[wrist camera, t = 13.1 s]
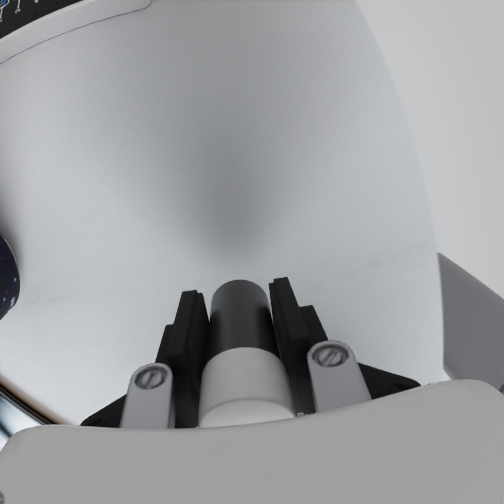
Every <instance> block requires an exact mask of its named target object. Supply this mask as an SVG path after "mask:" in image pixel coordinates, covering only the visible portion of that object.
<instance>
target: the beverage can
mask: <svg viewBox="0 0 504 504" xmlns="http://www.w3.org/2000/svg"><path fill="white" fill-rule="evenodd" d="M19 291H20V279H19V273H18V265H17V261H16V257H15V254H14V252H13V250H12V248H11V246H10V244H9V243H8V241H7V240H6V239H5V238H4V237H3V236H2V235H1V234H0V320H1V319H2V318H3V317H4V316H5V314H6V313H7V312H8V311H9V310H10V309H11V308H12V307H13V306H14V305H15V303H16V302H17V300H18V297H19Z"/></svg>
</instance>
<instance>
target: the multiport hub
mask: <svg viewBox="0 0 504 504" xmlns="http://www.w3.org/2000/svg"><path fill="white" fill-rule="evenodd" d="M151 1H152V0H0V63H1V62H3V61H5V60H7V59H9V58H10V57H12V56H14V55H16V54H18V53H20V52H22V51H24V50H26V49H28V48H30V47H32V46H35V45H37V44H39V43H41V42H43V41H46V40H48V39H50V38H53V37H55V36H58V35H60V34H63V33H65V32H68V31H71V30H73V29H76V28H79V27H82V26H85V25H87V24H91V23H94V22H97V21H100V20H103V19H107V18H110V17H113V16H117V15H121V14H125V13H129V12H133V11H137V10H141V9H144V8H146V7H148V6H149V5H150V3H151Z"/></svg>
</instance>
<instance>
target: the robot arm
mask: <svg viewBox="0 0 504 504" xmlns="http://www.w3.org/2000/svg"><path fill="white" fill-rule="evenodd" d="M269 291H270V299H271V308H272V316H273V325H274V330H275V335H276V339H277V344H278V348H279V353H280V358H281V361H282V362H283V364H284V365H285V368H286V372H287V374H288V378H289V382H290V386H291V391H292V395H293V399H294V404H295V408H296V413H299V412H302V413H304V414H307V415H303V416H298V417H292V418H286V419H279V420H273V421H266V422H258V423H250V424H241V425H231V426H219V427H205V428H196V427H197V426H198V413H199V400H200V388H201V377H202V372H203V369H204V368H205V366H206V357H207V345H208V334H209V319H208V314H207V310H206V306H205V302H204V297H203V294H202V293H198V292H197V290H192V291H184V292H182V295H181V299H180V302H179V306H178V310H177V313H176V317H175V321H174V324H171V325H166V327H165V330H164V333H163V337H162V340H161V344H160V347H159V351H158V354H157V358H156V361H155V363H151V364H147V365H144V366H142V367H140V368H139V369H137V370H136V371H135V372H134V373H133V374H132V377H131V379H130V383H129V387H128V391H127V394H125V395H124V396H122V397H121V398H119V399H117V400H116V401H114V402H112V403H111V404H109V405H108V406H106V407H104V408H103V409H101V410H99V411H98V412H96V413H94V414H93V415H91V416H89V417H88V418H87V419H85V420H84V421H83V422H82V423H81V425H80V426H74V425H41V426H36V427H31V428H27V429H24V430H21V431H19V432H17V433H15V434H14V435H13V436H12V437H11V438H10V439H9V440H8V441H7V443H6V444H5V446H4V447H3V449H2V450H1V452H0V504H504V396H503V395H502V394H501V393H500V392H499V391H498V390H497V389H495V388H494V387H493V386H491V385H489V384H488V383H486V382H482V381H478V380H467V379H465V380H450V381H443V382H437V383H432V384H428V385H424V386H421V385H420V384H419V383H418V382H417V381H415V380H412V379H410V378H406V377H403V376H400V375H396V374H393V373H389V372H386V371H383V370H380V369H377V368H373V367H370V366H367V365H364V364H361V363H358V362H357V361H356V358H355V356H354V353H353V351H352V349H351V348H350V347H349V346H348V345H346V344H345V343H342V342H340V341H333V340H332V341H329V340H328V338H327V336H326V333H325V331H324V329H323V327H322V324H321V322H320V320H319V318H318V316H317V313H316V311H315V309H314V307H313V305H309V306H303V307H299V306H298V303H297V301H296V298H295V295H294V293H293V290H292V288H291V285H290V282H289V280H288V277H284V278H277V279H274V283H269Z"/></svg>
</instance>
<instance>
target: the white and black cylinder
mask: <svg viewBox="0 0 504 504" xmlns="http://www.w3.org/2000/svg"><path fill="white" fill-rule="evenodd" d="M292 417H297V413H296V408H295V404H294V399H293V395H292V391H291V386H290V382H289V378H288V374H287V372H286V368H285V365H284V364H283V362H282V361H281V358H280V353H279V348H278V344H277V339H276V335H275V330H274V326H273V321H272V317H271V312H270V308H269V303H268V299H267V296H266V294H265V292H264V291H263V289H262V288H261V287H260V286H258V285H257V284H255V283H253V282H251V281H247V280H233V281H230V282H227V283H225V284H223V285H222V286H220V287H219V288H218V289H217V290H216V292H215V293H214V295H213V298H212V302H211V312H210V323H209V334H208V345H207V357H206V366H205V368H204V369H203V372H202V377H201V388H200V400H199V413H198V428H205V427H219V426H231V425H241V424H250V423H258V422H266V421H273V420H279V419H286V418H292Z"/></svg>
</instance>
